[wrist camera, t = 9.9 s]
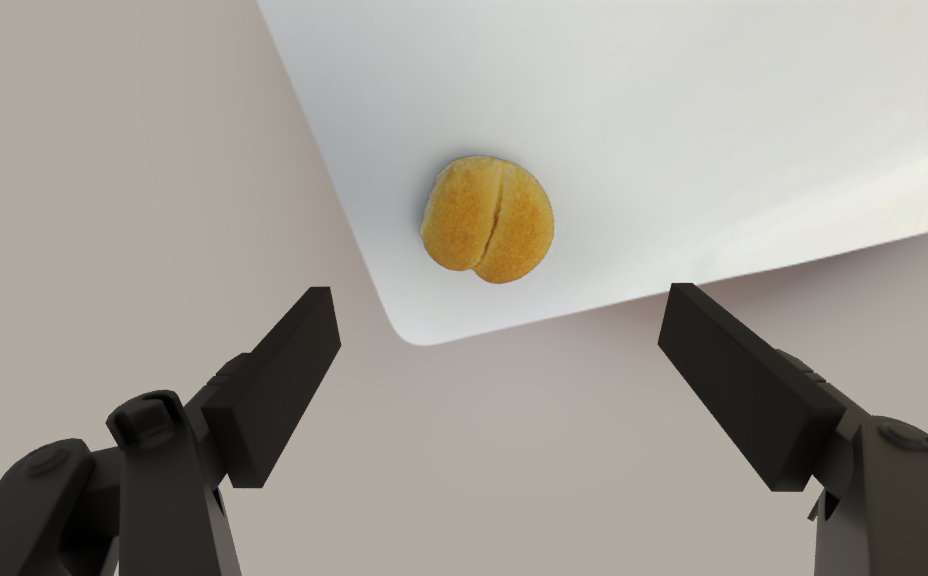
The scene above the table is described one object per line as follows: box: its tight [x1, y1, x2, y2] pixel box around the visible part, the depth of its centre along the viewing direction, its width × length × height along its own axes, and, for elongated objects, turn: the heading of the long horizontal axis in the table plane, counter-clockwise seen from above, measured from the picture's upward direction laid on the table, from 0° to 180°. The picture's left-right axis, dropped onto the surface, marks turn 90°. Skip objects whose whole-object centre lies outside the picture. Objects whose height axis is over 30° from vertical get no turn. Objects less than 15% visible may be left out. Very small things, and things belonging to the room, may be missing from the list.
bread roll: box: [419, 156, 554, 284], centre depth 25 cm, size 8×9×4 cm
